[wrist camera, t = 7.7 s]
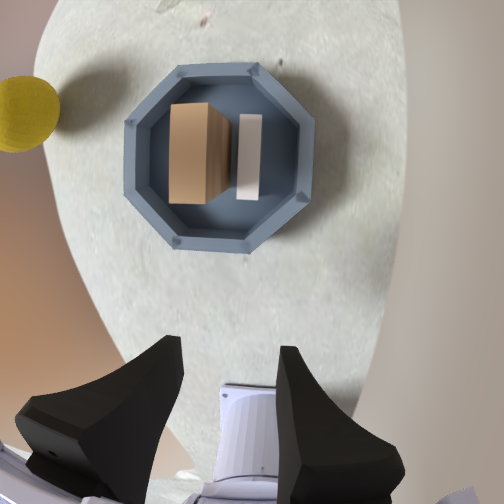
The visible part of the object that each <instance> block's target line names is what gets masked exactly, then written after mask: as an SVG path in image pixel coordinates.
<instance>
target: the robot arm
mask: <svg viewBox="0 0 504 504" xmlns="http://www.w3.org/2000/svg"><path fill="white" fill-rule="evenodd" d="M183 376H184V368H183V358H182V348H181V337H178V336H171V335H166V336H165V337H163V338H162V339H160V340H159V341H158V342H157V343H155V344H154V345H153V346H151V347H150V348H149V349H147V350H146V351H144V352H143V353H142V354H140V355H139V356H138V357H136V358H135V359H133V360H131V361H130V362H128V363H127V364H125V365H124V366H122V367H121V368H119V369H117V370H116V371H114V372H112V373H110V374H108V375H106V376H104V377H102V378H100V379H98V380H95V381H92V382H90V383H87V384H85V385H82V386H79V387H76V388H73V389H70V390H66V391H62V392H58V393H53V394H46V395H40V396H32V397H31V398H30V399H29V400H28V402H27V403H26V404H25V406H23V408H22V409H21V410H20V411H19V413H18V414H17V415H16V416H15V423H16V426H17V428H18V430H19V431H20V433H21V434H22V436H23V438H24V439H25V440H26V442H27V443H28V445H29V446H30V448H31V449H32V450H33V453H32V455H31V456H30V458H29V459H28V461H27V460H26V459H24V458H22V457H21V456H19V455H17V454H16V453H14V452H13V451H11V450H10V449H8V448H7V447H5V446H4V445H3V443H2V441H1V440H0V503H1V504H145V498H146V492H147V487H148V483H149V478H150V473H151V469H152V465H153V461H154V457H155V454H156V450H157V446H158V443H159V439H160V437H161V434H162V431H163V429H164V427H165V424H166V422H167V420H168V418H169V415H170V413H171V411H172V408H173V406H174V404H175V401H176V399H177V397H178V394H179V391H180V388H181V384H182V380H183ZM219 393H220V421H221V437H220V442H219V447H218V452H217V457H216V463H215V468H214V473H213V478H212V483H204V485H203V490H202V494H198V493H194V494H192V495H191V496H189V497H188V499H186V500H185V501H184V502H183V503H182V504H392V500H391V496H390V494H391V493H392V491H393V490H394V489H395V488H396V487H397V485H399V483H400V482H401V481H402V479H403V477H404V476H405V468H404V465H403V462H402V459H401V457H400V455H399V453H398V451H397V449H396V447H395V446H393V445H391V444H390V443H388V442H386V441H384V440H382V439H380V438H378V437H376V436H375V435H373V434H371V433H370V432H368V431H367V430H365V429H364V428H362V427H361V426H359V425H358V424H357V423H356V422H354V421H353V420H352V419H351V418H350V417H348V416H347V415H346V414H345V413H344V412H343V411H342V410H341V409H340V408H339V407H338V406H337V405H336V404H335V403H334V402H333V401H332V400H331V399H330V398H329V397H328V395H327V394H326V393H325V392H324V390H323V389H322V388H321V387H320V385H319V384H318V382H317V381H316V380H315V378H314V377H313V375H312V374H311V372H310V370H309V369H308V367H307V365H306V364H305V362H304V360H303V358H302V356H301V354H300V352H299V350H298V348H297V347H296V346H281V347H280V356H279V364H278V372H277V380H276V389H271V388H255V387H242V386H231V385H222V386H221V387H220V390H219ZM225 394H227V395H225ZM436 504H480V503H479V500H478V498H477V496H476V493H475V490H474V488H473V487H472V486H470V487H468V488H466V489H463V490H460V491H458V492H455V493H452V494H450V495H447V496H445V497H444V498H442V499H441V500H439V501H438V502H437V503H436Z"/></svg>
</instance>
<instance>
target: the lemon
mask: <svg viewBox="0 0 504 504" xmlns="http://www.w3.org/2000/svg"><path fill="white" fill-rule="evenodd" d="M59 115H60V101H59V97H58V95H57V93H56V91H55V89H54V88H53V87H52V86H51V85H50V84H49V83H48V82H46V81H45V80H42V79H40V78H37V77H33V76H19V77H12V78H8V79H6V80H4V81H2V82H1V83H0V150H2V151H6V152H22V151H27V150H30V149H32V148H34V147H36V146H39V145H40V144H42V143H43V142H44V141H45V140H46V139H47V138H48V137H49V136H50V135H51V133H52V132H53V131H54V129H55V127H56V125H57V122H58V119H59Z"/></svg>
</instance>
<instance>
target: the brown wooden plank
mask: <svg viewBox="0 0 504 504" xmlns="http://www.w3.org/2000/svg"><path fill="white" fill-rule="evenodd" d="M231 149H232V123H231V122H230V121H229V120H228V119H227V118H226V117H224V116H223V115H222V114H221V113H220V112H219V111H217V110H216V109H215V108H214V107H213V106H212V105H210V104H209V103H187V104H172V105H171V114H170V140H169V203H182V204H206V203H208V202H209V201H211V200H212V199H214V198H215V197H217V196H218V195H220V194H221V193H223V192H224V191H226V190H228V189H229V188H230V184H231Z"/></svg>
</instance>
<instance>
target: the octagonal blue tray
mask: <svg viewBox="0 0 504 504" xmlns="http://www.w3.org/2000/svg"><path fill="white" fill-rule="evenodd" d="M187 103H209V104H210V105H212V106H213V107H214V108H215V109H216V110H217V111H219V112H220V113H221V114H222V115H223V116H224V117H226V118H227V119H228V120H229V121H230V122H231V123H232V149H231V184H230V188H229V189H228V190H226V191H224V192H223V193H221V194H220V195H218V196H217V197H215V198H214V199H212V200H211V201H209V202H208V203H206V204H182V203H169V140H170V114H171V105H172V104H187ZM124 122H125V127H124V194H123V195H124V196H125V197H126V198H127V199H128V200H129V202H130V203H131V204H132V205H133V206H134V207H135V208H136V209H137V210H138V212H139V213H140V214H141V215H142V216H143V217H144V218H145V219H146V220H147V221H148V222H149V224H150V225H151V226H152V227H153V228H154V229H155V230H156V231H157V232H158V233H159V234H160V235H161V236H162V238H163V239H164V240H165V241H166V242H167V243H168V244H169V245H170V246H171V247H172V248H173V249H174V250H175V249H178V250H194V251H210V252H226V253H242V254H251V252H253V251H254V250H255V249H256V248H257V247H258V246H260V245H261V244H262V243H263V242H264V241H265V240H267V239H268V238H269V237H270V236H271V235H272V234H274V233H275V232H276V231H277V230H278V229H279V228H281V227H282V226H283V225H284V224H285V223H286V222H288V221H289V220H290V219H291V218H292V217H293V216H295V215H296V214H297V213H298V212H299V211H300V210H302V209H303V208H304V207H305V206H306V205H307V204H309V203H310V202H311V188H312V173H313V157H314V138H315V122H316V121H315V119H314V118H313V117H312V116H311V115H310V114H309V113H308V112H307V111H306V110H305V109H304V108H303V107H302V105H301V104H300V103H299V102H298V101H297V100H296V99H295V98H294V97H293V96H292V95H291V94H290V93H289V92H288V91H287V90H286V89H285V88H284V87H283V86H282V85H281V84H280V83H279V82H278V81H277V80H276V79H275V78H274V77H273V76H272V75H271V74H270V73H268V72H267V71H266V70H265V69H264V68H263V67H262V66H261V65H260V64H259V63H258V62H257V63H206V64H190V65H178V66H177V67H176V68H175V69H174V70H173V71H172V72H171V73H170V74H169V75H168V76H167V77H166V78H165V79H164V80H163V81H162V82H161V83H160V84H159V85H158V86H157V87H156V88H155V89H154V90H153V91H152V92H151V93H150V94H149V95H148V96H147V97H146V98H145V99H144V100H143V101H142V102H141V103H140V105H139V106H138V107H137V108H136V109H135V110H134V111H133V112H132V113H131V115H130V116H129V117H128V118H127V119H126V120H125V121H124Z"/></svg>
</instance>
